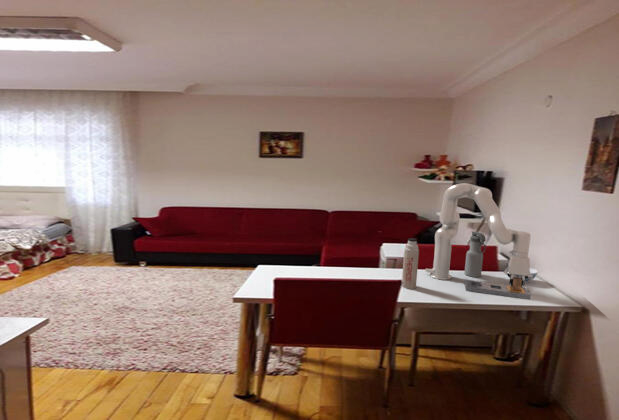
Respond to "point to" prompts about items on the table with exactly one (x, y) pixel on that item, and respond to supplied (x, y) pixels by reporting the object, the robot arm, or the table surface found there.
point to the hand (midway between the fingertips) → (516, 285)
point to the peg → (516, 284)
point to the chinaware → (533, 272)
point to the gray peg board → (495, 289)
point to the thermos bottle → (410, 264)
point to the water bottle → (475, 255)
